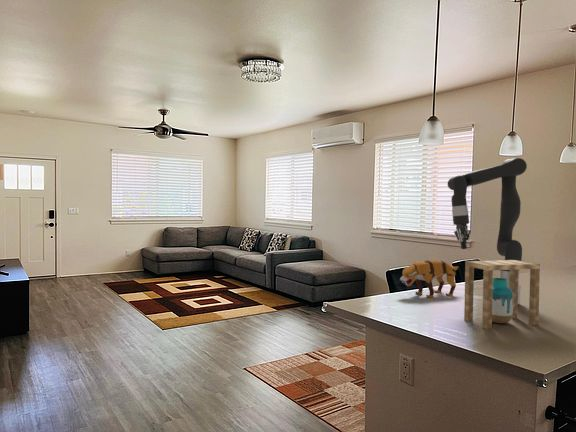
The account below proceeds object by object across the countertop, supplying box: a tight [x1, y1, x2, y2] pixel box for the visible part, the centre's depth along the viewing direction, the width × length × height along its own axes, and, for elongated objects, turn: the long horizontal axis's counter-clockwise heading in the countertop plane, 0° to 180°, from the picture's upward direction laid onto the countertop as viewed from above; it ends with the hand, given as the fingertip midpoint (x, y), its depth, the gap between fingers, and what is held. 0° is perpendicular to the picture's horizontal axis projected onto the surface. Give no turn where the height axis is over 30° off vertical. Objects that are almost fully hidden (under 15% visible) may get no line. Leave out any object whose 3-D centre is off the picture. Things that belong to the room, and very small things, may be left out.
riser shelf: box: [463, 259, 541, 330], centre depth 187 cm, size 26×14×26 cm, turn 105°
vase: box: [492, 277, 513, 324], centre depth 187 cm, size 11×11×19 cm
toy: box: [399, 259, 460, 299], centre depth 245 cm, size 12×40×20 cm, turn 112°
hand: (464, 248), depth 221 cm, fingers closed
